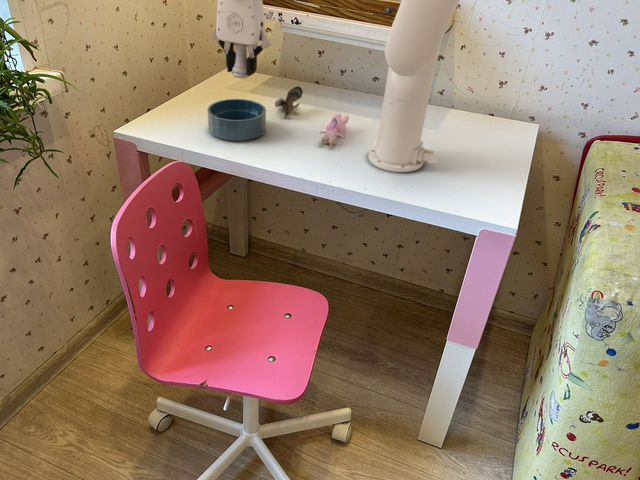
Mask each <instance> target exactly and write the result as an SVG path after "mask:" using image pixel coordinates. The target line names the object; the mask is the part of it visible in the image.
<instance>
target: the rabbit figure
mask: <svg viewBox="0 0 640 480" xmlns="http://www.w3.org/2000/svg"><path fill="white" fill-rule="evenodd" d="M349 120H350V116H349V115H347V114H345V115H343V116H342V114H341V113H335V114H334V115H333V116H332V117H331V120H330V121H329V123H328V124H326V126H325V130H321V131H319V134H320V135H322V134H323V135H322V138H321V141H320V143H319V146H320V147H323V146H324V145H327V144H329V146H328V148H329V147H330V148H331V149H332V148H333V147H334V146H335V145H336V143H337V140H338V136H339V137H341V138H345V135H344V134H345V133H346V132H347V128H346V125H347V124H348V123H349Z"/></svg>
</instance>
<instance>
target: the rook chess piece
mask: <svg viewBox="0 0 640 480" xmlns="http://www.w3.org/2000/svg"><path fill="white" fill-rule="evenodd" d="M234 47H235V49H234V51H235V52H236V59H235V64H234V66H233V68H232V70H233V71H231V75H232V76H233V77H234V78H237V79H247V78H249V77H250V76H248V75H247V58H248V57H247V55H248V54H247V53H248V49H247V48H248V47H247V45H244V44H238V43H234Z"/></svg>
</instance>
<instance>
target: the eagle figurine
mask: <svg viewBox="0 0 640 480" xmlns="http://www.w3.org/2000/svg"><path fill="white" fill-rule="evenodd" d="M303 92H304V91H303V89H302V87H301V86H294V87H293V88H291V89H290V90H289V91H287V94H286V97H285V99H284V98H283V97H280V98H278V99H277V100H275V102H274V107H276V108H279V107H282V108H283V109H281V112H284V119H287V117H288V116H289V115H290V113H291V112H293V113H295V114H296V115H298V112H297V109H296V108H298V107H299V105H300V103H299V102H298V103H297V104H295V105H294V103H295V102H297V101H298V100H299V99H300V100H301V98H302V97H303Z"/></svg>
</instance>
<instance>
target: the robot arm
mask: <svg viewBox="0 0 640 480" xmlns="http://www.w3.org/2000/svg"><path fill="white" fill-rule="evenodd" d="M459 3H460V0H401V1H400V4H399V7H398V9H397V12H396V15H395V16H394V20H393V21H392V25H391V28H390V29H389V32H388V35H387V38H386V41H385V45H384V58H385V61H386V64H387V67H388V69H387V75H386V81H385V87H384V88H385V89H384V94H383V101H382V108H381V114H380V120H379V128H378V135H377V142H376V146H374V147H372V148H371V149H370V150H369V151H368V155H367V156H368V157H367V158H368V161H369V162H370V163H371V164H372V165H373V166H374V167H376V168H379V169H381V170H385V171H388V172H393V173H409V172H415V171H417V170H419V169H421V168H422V167H423V165H424V162H428V163H431V164H434V165H435V164H437V162H438V159H439V154H435V153H436V152H435V150H433V149H426V148H425V147H424V141H423V140H422V136H423V130H424V127H425V121H426V115H427V111H428V105H429V100H430V98H431V97H430V96H431V91H432V86H433V82H434V77H435V72H436V67H437V64H438V59H439V56H440V50H441V46H442V41H443V38H444V36H445V34H446V31H447V29H448V27H449V25H450V22H451V20H452V18H453V16H454V13H455V12H456V9H457V7H458V4H459ZM265 29H266V27H265V11H264V2H263V0H217V7H216V26H215V29H214V31H213V33H212V34H211V37H212V38H213V39H214V40H215V41H216V42H217V43H218V45H219V46H220V47H221V49H222V50H223V53H224V55H225V66H226V68H227V69H226V70H227V71H226V72H227V73H232V72H233V70H232V68H233V66H234V64H235V59H236V52H235V45H234V43H238V44H244V45H247V47H246V48H247V53H248V57H247V75H248V76H249V77H251V76H252V75H254V74H255V73H256V71H257V69H258V56H259V55H260V53H262V52H263V51H264V50H265V49H267V48H268V47H270V46H271V45H272V42H271V40H270V38H269V36H268V34H267V32H266V30H265ZM259 42H261V43H260V44H258V43H259ZM421 140H422V141H421Z"/></svg>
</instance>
